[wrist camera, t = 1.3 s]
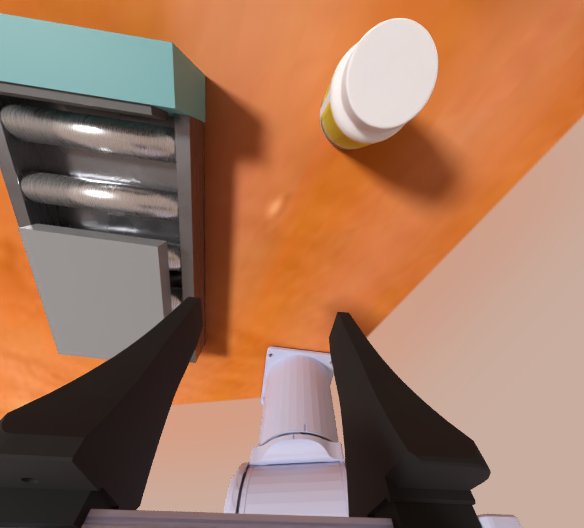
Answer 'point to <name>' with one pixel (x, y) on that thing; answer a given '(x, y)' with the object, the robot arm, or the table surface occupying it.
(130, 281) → the slab
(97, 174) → the roller bed
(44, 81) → the end stop
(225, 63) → the table surface
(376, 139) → the supplement bottle
